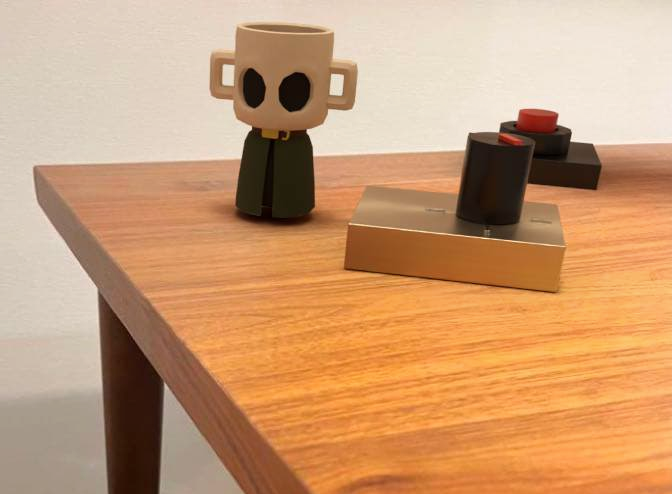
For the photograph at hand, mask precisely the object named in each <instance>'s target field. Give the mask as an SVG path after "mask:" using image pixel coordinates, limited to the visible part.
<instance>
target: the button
mask: <svg viewBox="0 0 672 494" xmlns="http://www.w3.org/2000/svg"><path fill="white" fill-rule="evenodd" d="M559 115H560V114H559V113H558V112H556V111H554V110H549V109H543V108H542V109H541V108H521V109H519V110H518V114H517V120H516V121H517V125H516V128H518V129H522V130H527V131H534V132H555V130H556V126H557V125H558V120H559Z"/></svg>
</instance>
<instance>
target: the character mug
mask: <svg viewBox="0 0 672 494" xmlns="http://www.w3.org/2000/svg"><path fill="white" fill-rule="evenodd" d="M234 37H235V39H234V40H235V41H234V44H235V45H234V49H222V48H217V49H214V50H211V53H210V57H209V91H210V96H211V97H212V98H215V99H218V100H228V101H232V103H233V105H232V106H233V107H232V109H233V112H234V115H235V118H236V120H237V121H239V122H241V123H243V124H245V125H247V126H250V127H251V130H249V131H248V132H247V135H246V136H245V139H244V141H243V148H242V152H241V159H240V165H239V171H238V177H237V185H236V194H235V203H234V207H235V208H237V209H238V210H240V211H241V212H243V213H245V214H249V215H254V216H260V217H261V216H262V208H267V209H272V210H271V211H272V212H271V217H272V218H275V219H276V218H277V219H279V218H280V219H281V218H283V219H284V218H285V219H286V218H288V219H289V218H298V217H303V216H307V215H309V214H310V213H311V212H312V211H313V210H314V209H315V208H316V184H315V181H316V180H315V165H314V163H315V162H314V145H313V143H312V140H311V137H310V135H309V134H308V130H312V129H315V128H317V127H319V126H323V125H324V123H325V121H326V119H327V117H328V115H329V110H333V111H334V110H335V111H343V112H344V111H345V112H346V111H349V110H353V108H354V106H355V103H356V96H357V95H356V94H357V85H358V75H359V69H358V64H357V62H355V61H353V60H350V59H339V58H333V57H334V56H333V55H334V47H335V45H334V44H335V31H334V29H331V28H328V27H324V26H319V25H313V24H306V23H299V22H298V23H296V22H282V21H281V22H279V21H251V22H249V21H248V22H244V23H243V22H242V23H238V24H236V30H235V36H234ZM225 65H227V66H233V67H234V69H233V85H229V84H228V85H227V84H223V77H224V76H223V73H224V66H225ZM332 75H340V76H343V80H342V81H343V82H342V83H343V84H342V92H341V93H342V94H341V95H337V94H330V93H331V81H332Z"/></svg>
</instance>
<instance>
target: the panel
mask: <svg viewBox="0 0 672 494" xmlns="http://www.w3.org/2000/svg"><path fill="white" fill-rule="evenodd" d="M458 194H459V193H449V192H448V193H447V192H438V191H428V190H419V189H418V190H417V189H407V188H397V187H388V186H379V185H378V186H377V185H366V187H365V189H364V191H363V193H362V195H361V197H360V199H359V200H358V203H357V205H356V207H355V209H354V211H353V213H352V215H351V218H350V219H349V222H348V224H347V232H346V243H345V252H344V254H345V255H344V262H343V269H345V270H355V271H364V272H371V273H383V274H389V275H399V276H407V277H416V278H425V279H436V280H442V281H452V282H461V283H470V284H477V285H478V284H479V285H487V286H495V287H497V286H498V287H504V288H505V287H506V288H513V289H523V290H524V289H525V290H530V291H531V290H532V291H540V292H548V293H549V292H551V293H556V292H557V290H558V286H559V281H560V278H561V277H560V276H561V273H562V268H563V263H564V258H565V255H566V254H565V253H566V249H567V246H566V241H565V240H566V239H565V235H564V230H563V226H562V220H561V215H560V210H559V205H558V204H556V203H549V202H539V201H538V202H537V201H528V200H527V201H526V200H524V202H523V207H522V212H521V218H520V220H519V221H518V222H516V223H511V224H485V223H478V222H474V221H470V220H466V219H464V218H461V217H460V216H458V215H457V214H456V207H457V200H458Z"/></svg>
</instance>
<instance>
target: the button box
mask: <svg viewBox="0 0 672 494" xmlns="http://www.w3.org/2000/svg"><path fill="white" fill-rule="evenodd" d="M516 125H517V120H508V121H504V122H503V121H502V122H500V125H499V130H498V132H499V133H509V134H515V135H520V136H524V137H528V138H530V139H532V140H534V141H535V146H534V151H533V156H532V161H531V166H530V171H529V177H528V182H527V185H535V186H536V185H537V186H545V187H546V186H547V187H557V188H569V189H579V190H588V191H589V190H590V191H597V188H598V184H599V180H600V176H601V172H602V167H603V165H602V162H601V160H600V157H599V155H598V152H597V150H596V148H595V145H594V143H590V142H579V141H571V139H572V136H573V135H572V134H573V131H572V129H571V128H569V127H566V126H564V125H561V124H557V126H556V130H555V132H534V131H527V130H522V129H518V128H516ZM472 133H473V132H471V131H470V132H468V135H469V134H472Z"/></svg>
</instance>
